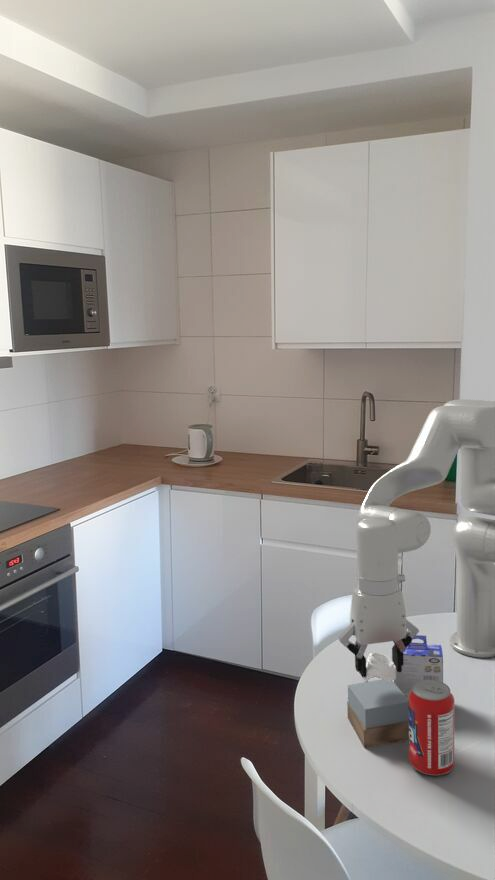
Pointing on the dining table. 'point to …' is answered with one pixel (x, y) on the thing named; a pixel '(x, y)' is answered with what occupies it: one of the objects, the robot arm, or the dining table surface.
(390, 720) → the top block
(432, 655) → the ink cartridge box
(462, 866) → the dining table surface
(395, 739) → the base block
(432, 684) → the soda can
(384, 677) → the white cloth bundle
